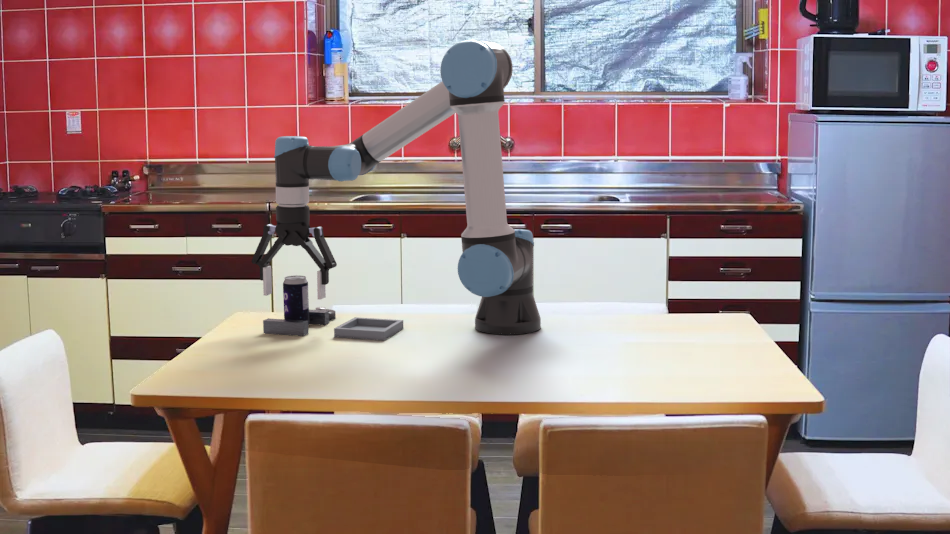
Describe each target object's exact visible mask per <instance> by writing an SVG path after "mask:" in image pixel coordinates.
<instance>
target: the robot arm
mask: <svg viewBox="0 0 950 534" xmlns="http://www.w3.org/2000/svg"><path fill="white" fill-rule="evenodd" d="M513 70H514V69H513V61H512V58H511V56H510V54H509V52H508V51H507V50H506V49H505V48H504V47H503V46H502V45H500V44H498V43H496V42H494V41H487V40H480V39H471V38H470V39H466V40H462V41H459V42H456V43H455V44H453V45H452V46H451V47H450V48H448V50H446V52H445V54H444V56H443V57H442V60H441V63H440V70H439V71H440V72H439V73H440V77H441V78H440V79H441V81H440V82H439V83H437V84H436V85H434V86H433V87H431V88H430V89H429V90H427V91H425V92H424V93H423V94H421V95H419V96H418V97H416V98H415V99H414V100H412V101H410V102H409V103H408V104H407V105H405V106H404V107H402V108H400V109H398V110H397V111H396V112H394V113H393V114H391V115H390V116H388V117H387V118H385V119H384V120H382V121H381V122H380V123H378V124H376V125H375V126H373V127H371V129H369V130H367V131H366V132H364V133H362V135H360V136H359V137H357V138H355V139H354V140H353V141H351V142H350V143H347V144H346V143H345V144H341V145H340V144H339V145H332V146H329V145H328V146H327V145H326V146H325V145H324V146H321V145H320V146H319V145H318V146H315V145H310V143H309V139H308V138H307V137H306V136H302V135H301V136H300V135H294V136H293V135H291V136H290V135H285V136H284V135H283V136H278V137H277V138H276V139H275V142H274V143H275V144H274V155H273V159H274V166H275V167H274V169H275V170H274V171H275V203H276V204H278V205H276V207H275V219H276V225H274V224H272V223H269V224H265V225H264V226H263V231H262V237H261V239H260V240H259V243H258V245H257V247H256V249H255V252H254V253H253V256H252V258H251V264H253V265H257V266H258V267H259V279H260V281H262V282H263V283H262V285H263V288H262V289H263V291H262V292H263V296H269V295H271V294H273V290H272V289H273V288H272V287H273V283H272V281H273V279H272V275H273V274H272V265H270V263H271V261H272V260H273V259H274V257H275V256H276V255H277V253H279V251H280V250H281V249H282V247H283V246H293V247H301V248H302V249H304V250H305V251H306V253H307V254H308V255H309V257H310V258H311V260H313V262H314V264H316V266H317V267H318V268H319V270H317V272H316V276H317V278H316V280H317V284H316V285H317V289H316V290H317V300H321V301H322V300H323V299H324V298H326V285H328V284H329V282H330V271H329V270H331V269H334V268H336V267H337V262H336V260H335V257H334V255H333V253H332V251H331V249H330V246H329V244H328V242H327V241H326V238H325V235H324V229H323V227H322V226H317V227H311V226H310V219H311V218H310V206H309V203H310V180H321V181H338V182H340V183H341V182H346V181H347V182H349V181H355V180H357V179H358V177H359V176H363V175H364V176H365V175H366V174H368V173H370V172H371V171H373V170H374V169H375V167H376V166H377V165H378V164H380V163H381V162H382V161H384V160H385V159H387V158H388V157H390V156H392V155H393V154H394V153H396V152H398V151H399V150H401V149H402V148H404V147H405V146H407V145H408V144H410V143H411V142H413V141H414V140H417V139H418V138H419V137H421V136H422V135H424V134H426V133H427V132H429V131H430V130H432V129H433V128H435V127H436V126H437V125H439V124H441V123H442V122H444V121H445V120H447V119H449V118H450V117H452V116H453V115H455V114H456V115H457V118H458V128H459V130H458V131H459V143H460V144H459V145H460V154H461V167H462V179H463V190H464V201H465V202H464V203H465V214H466V223H467V226H466V228H465V229H464V230H463V231H462V232H461V234H460V236H461V237H460V238H461V249H462V253H461V255H460V257H459V259H458V262H457V275H458V278H459V280H460V282H461V284H462V285H463V287H464V288H465V289H466V290H468V292H470V293H471V294H473V295H475V296H478V297H481V298H480V302H479V305H478V308H477V311H476V315H475V317H474V329H475V330H476V331H479V332H481V333H482V332H483V333H486V334H491V335H492V334H493V335H505V336H506V335H507V336H508V335H523V334H529V333H534V332H537V331H539V330H540V329H541V328H542V325H541V324H542V323H541V315H540V312H539V309H538V306H537V304H536V303H537V302H536V300H535V297H534V247H535V242H534V235H533V232H532V231H531V230H530V229H518V228H517V229H515V228H513V227H512V226H510V225H509V224H508V218H507V205H506V195H505V180H504V179H505V178H504V169H503V167H504V166H503V155H502V144H501V131H500V117H499V112H500V109H501V108H502V107H503V106H504V104H505V90H504V89H505V88H507V86H508V84H509V83H510V81H511V79H512V76H513ZM274 234H276V235H277V236H278V238H276V240H275V241H274V243H273V245H272V246H271V247H270V248H269V250H268V251H267V252H266V250H267V248H268V246H269V244H270V242H271V240H272V237H273V235H274ZM311 235H312V237H313V238H314V240H315V243H316V244H317V247H318V249H319V250H318V249H317V248H316V246H315V245H314V244H313V243H314V242H313V241H312V239H311V238H310V236H311ZM319 251H320V252H319ZM265 253H266V254H265Z"/></svg>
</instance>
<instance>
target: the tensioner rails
mask: <svg viewBox="0 0 950 534" xmlns="http://www.w3.org/2000/svg"><path fill="white" fill-rule="evenodd" d="M336 317H337V315H336V310H334V309H329V308H326V307H325V306H317V307H315V309H309V325H311V324H320V325H319V326H326V324H327V325H328V323H329V324H330V322H331V321H334V320H335V319H336ZM330 320H331V321H330ZM262 325H263V328H262V329H263V334H264V333H265V335H278V334H279V335H281V336H293V335H298V336H297V337H305V336H307V335H308V334H309V325H308V321H302V320H285V319H284V318H268V317H267V318H266V319H264V320H262ZM279 335H278V336H279Z"/></svg>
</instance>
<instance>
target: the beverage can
mask: <svg viewBox="0 0 950 534" xmlns="http://www.w3.org/2000/svg"><path fill="white" fill-rule="evenodd" d="M282 295H283V319H285V320H302V321H308V326H309V325H310V324H309V310H310V305H309V304H310V302H309V301H310V300H309V281H308V280H307V277H306V276H305V275H287V276H285V277H284V279H283V283H282Z"/></svg>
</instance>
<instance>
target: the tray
mask: <svg viewBox="0 0 950 534" xmlns="http://www.w3.org/2000/svg"><path fill="white" fill-rule="evenodd" d="M402 330H404V319H391V318H389V319H388V318H374V317H357V316H356V317H353V318H351V319H350V320H347V321H345V322H344V323H342V324H340V325H338V326H336V327H333V337H334V338H342V339H359V340H372V341H374V340H375V341H386V340H387V339H389V338H392V336H394V335H396V334H397V333H399V332H400V331H402Z"/></svg>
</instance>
